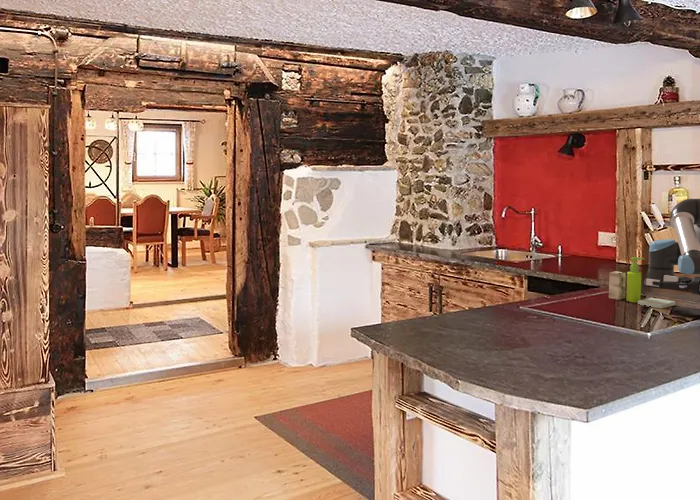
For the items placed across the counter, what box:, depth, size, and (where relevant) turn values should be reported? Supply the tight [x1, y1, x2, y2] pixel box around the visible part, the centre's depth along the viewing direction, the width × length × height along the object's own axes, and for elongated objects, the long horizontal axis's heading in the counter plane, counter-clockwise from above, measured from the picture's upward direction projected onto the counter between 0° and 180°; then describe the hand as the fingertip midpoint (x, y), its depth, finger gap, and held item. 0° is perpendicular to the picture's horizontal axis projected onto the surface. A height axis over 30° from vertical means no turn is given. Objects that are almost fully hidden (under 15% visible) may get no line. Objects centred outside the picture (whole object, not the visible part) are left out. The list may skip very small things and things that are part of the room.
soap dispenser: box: [625, 256, 645, 303], centre depth 300 cm, size 6×7×20 cm
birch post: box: [608, 270, 627, 301], centre depth 308 cm, size 5×5×12 cm
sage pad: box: [637, 297, 676, 309], centre depth 293 cm, size 11×11×2 cm
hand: (655, 279), depth 292 cm, fingers open, 13 cm apart
